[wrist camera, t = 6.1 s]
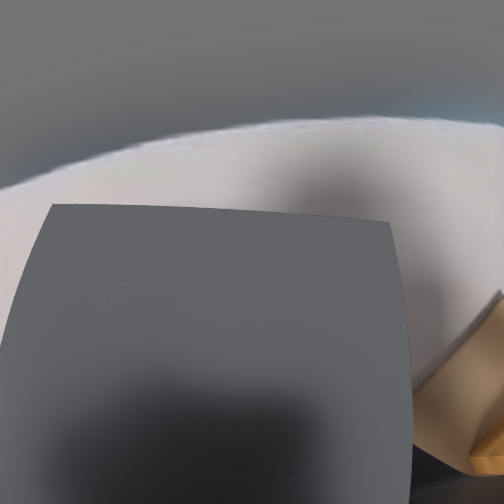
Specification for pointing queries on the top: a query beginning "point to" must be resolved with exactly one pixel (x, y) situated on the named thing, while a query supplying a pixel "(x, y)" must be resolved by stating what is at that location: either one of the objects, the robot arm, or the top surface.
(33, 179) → the top surface
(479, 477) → the robot arm
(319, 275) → the link bar
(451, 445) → the plate
